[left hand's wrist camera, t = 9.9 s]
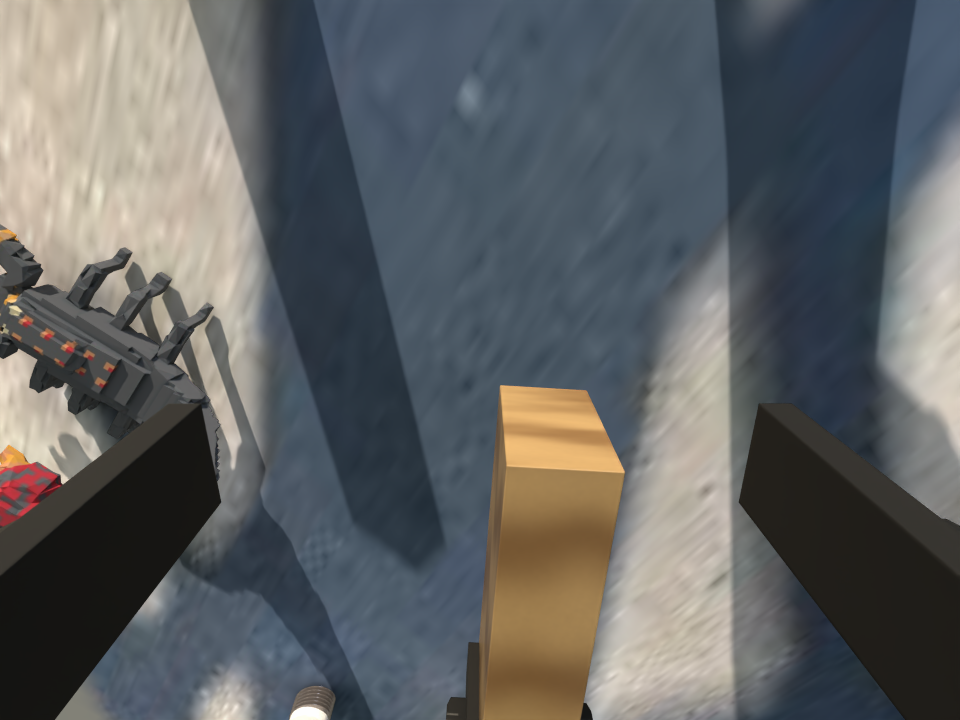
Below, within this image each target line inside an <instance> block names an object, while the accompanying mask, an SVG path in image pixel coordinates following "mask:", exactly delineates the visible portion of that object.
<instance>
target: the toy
mask: <svg viewBox="0 0 960 720" xmlns="http://www.w3.org/2000/svg"><path fill="white" fill-rule="evenodd" d="M16 236H17V235H16V234H14V233H13V232H11V231H10V230H8V229H7V228H5V227H3V226H2V225H0V265H1V266H2V267H3V268H4V269H5V270H6V272H7V273H5V274H2V275H0V357H1V358H2V359H4V358H6V357H8V356H10V355H12V354H14V353H15V352H17V351H18V348H19V349H20V350H22V351H24V352H26V353H27V354H29V355H31V356H32V357H34V358H36V359H37V362H36V365H35V367H34V370H33V373H32V376H31V379H30V386H29V388H32V389H34V390H36V391H37V392H38V393H40V392H42V391H44V390H46V389H48V388H50V387H52V386H53V387H55V388H60V387H63V385H64V383H67V384H69V385H70V386H72V387H73V389H72V395H71V397H70V399H69V401H68V411H70V412H71V413H73V414H75V415H76V414H78V413H79V412H81V411H83V410H84V409H86V408H88V409H89V410H92V409H94V408H95V407H97V405H98V404H99V402H103V403H105V404H107V405H109V406H110V407H112V408H114V409H115V410H117V411H119V412H118V414H117V415H116V417H115V419H114V421H113V422H112V424H111V426H110V428H109V430H108V432H107V433H108V434H110V435H111V436H113V437H115V438H116V439H118V438H120V437H121V436H122V435H123V434H124V433H125V432H129V433H131V432H132V431H133V430H135V429H136V428H137V427H139V425H140V424H142V423H144V422H145V421H146V420H148V419H149V418H150V417H152V416H153V415H154V414H156V413H157V412H158V411H159V410H161V409H162V408H163V407H165V406H166V405H167V404H201V406H202V411H203V416H204V420H205V425H206V430H207V435H208V440H209V445H210V450H211V455H212V460H213V465H214V469H215V474H216V479H217V481H218V479H219V478H220V477H219V473H218V472H219V471H220V470H218V469H217V467H218V466H219V464H220V463H218V462H217V461H218V459H219V458H220V457H219V456H218V455H217V454H218V453H219V451H220V450H219V449H217V447H218V444H217V441H218V437H217V435H216V431H217V429H218V428H219V426H220V425H221V424H219V423H218V421H219V420H217V419H216V418H214V417H212V416H213V415H214V414H212V413H211V411H212V410H211V409H210V408H209V404H208V403H209V401H210V399H209V398H208V397H207V396H206V394H205V393H204V392H203V391H201V390H200V389H199V388H198V387H197V386H196V385H195V384H194V383H193V382H191V381H190V380H189V378H188V375H187V374H186V373H185V372H184V371H183V370H182V369H181V368H179V367H178V366H177V365H176V364H174V362H175V360H176V358H177V356H178V355H179V353H180V351H181V349H182V347H183V346H184V344H185V342H186V341H187V340H188V338H189V337H190V336H191V334H192V333H193V331H194V328H195V327H197V326H198V325H200V324H201V323H203V322H205V320H206V319H207V317H208V316H209V314H210V312H211V311H212V309H213V308H214V307H213V306H211V305H210V304H209V303H206V304H205V305H204V306H203V307H202V308H201V309H200V310H199V311H198V312H197V313H196V314H195V315H194V316H192V317H190V318H188V319H186V320H184V321H183V322H182V321H181V320H180V321H178V322H176V323H175V325H174V327H173V328H172V330H171V332H170V334H169V335H167V336H166V337H165V339H164V341H163V343H162V345H161V347H160V349H159V345H158V344H157V343H155V342H154V341H153V340H151V339H150V338H148V337H147V336H145V335H144V334H142V333H137V332H136V331H135V330H134V329H132V328H131V327H130V326H129V325H130V324H131V323H132V322H133V320H134V319H135V317H136V316H137V314H138V313H139V311H140V310H141V308H142V307H143V305H144V304H145V303H146V301H147V300H148V299H149V298H152V297H155V296H158V295H160V294H162V293H163V292H165V290H166V289H167V287H168V285H169V284H170V282H171V280H172V279H171V278H170V277H168V276H167V275H165V274H164V273H162V272H160V273H157V274H156V275H155V277H154V278H153V279H152V281H151V282H150V283H149V284H148V285H147V286H145V287H144V288H141V289H138V290H136V291H134V292H132V293H130V294H129V295H127V297H126V299H125V300H124V302H123V304H122V305H121V307H120V309H119V310H118V312H117V314H116V316H114V315H113V314H111V313H110V312H108V311H106V310H105V309H103V308H102V307H99V308H96V309H94V308H93V307H91V306H90V305H89V304H90V302H91V300H92V298H93V296H94V294H95V292H96V291H97V290H98V289H99V287H100V286H101V284H102V283H103V281H104V280H105V278H106V277H107V275H108V274H110V273H112V272H113V271H116V270H119V269H122V268H124V267H125V265H126V263H127V262H128V260H129V258H130V256H131V254H132V253H133V252H131V251H130V250H128V249H127V248H121V249H120V250H119V251H118V253H117V254H116V255H115V257H114V258H113V259H110V260H107V261H103V262H99V263H96V264H87V265H86V267H85V268H84V270H83V271H82V273H81V274H80V276H79V277H78V279H77V281H76V282H75V284H74V286H73V287H72V289H71V291H70V292H69V293H67V292H66V291H64V292H63V291H61V290H60V289H58V288H57V287H55V286H53V285H48V284H47V285H43V286H40V287H36V288H32V287H31V286H35V285H36V283H37V281H38V279H39V277H40V276H41V274H42V272H43V269H42V268H41V264H39V263H37V262H36V261H35V260H34V259H33V258H34V255H33V254H32V253H31V252H29V251H28V250H27V249H25V248H24V245H22V244H21V243H20V242H19V240H18V239H16ZM0 462H1V464H2V465H0V528H2V527H3V526H5V525H7V524H9V523H11V522H13V521H16V520H18V519H19V518H20V517H22V516H23V515H24V514H25V513H27V512H28V511H29V510H31V509H32V508H33V507H35V506H36V505H37V504H38V503H40V502H41V501H42V500H44V499H45V498H46V497H48V496H49V495H50V494H51V493H53V492H54V491H55V490H57V489H58V488H59V487H61V486H62V485H63V484H62V483H61V476H60V474H57V473H54V472H53V471H51V470H49V469H48V468H46V467H45V466H43V465H42V464H40V463H38V462H35V463H32V464H30V463H28V461H27V460H26V458H25V457H24V455H23V454H22V453H20V452H19V451H17V450H16V449H14V448H13V447H11V446H10V445H8V446H7V447H6V449H5V450H4V451H3V452H2V453H1V454H0Z"/></svg>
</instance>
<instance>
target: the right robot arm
mask: <svg viewBox="0 0 960 720" xmlns="http://www.w3.org/2000/svg"><path fill="white" fill-rule="evenodd" d="M479 658H480V643H473V642H469V644H468V658H467V672H466V698H458V697H451V698H450V700H449V702H448V704H447V714H446V720H479ZM580 720H593V718H592V713H591V710H590V709H589V707H588V705H587V704H586V703H583V708H582V714H581V719H580Z"/></svg>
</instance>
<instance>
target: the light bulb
mask: <svg viewBox="0 0 960 720" xmlns="http://www.w3.org/2000/svg"><path fill="white" fill-rule="evenodd" d="M334 703H335V695H334V693H333V692H332V691H331V690H329V689H327V688H325V687H321V686H312V687H308V688H305V689H303V690H301V691H300V692H299V693H298V694H297V696H296V699H295V702H294V704H293V707H292V710H291V714H290V716H289V720H330V718H331V714H332V711H333V707H334Z"/></svg>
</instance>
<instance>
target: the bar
mask: <svg viewBox="0 0 960 720" xmlns="http://www.w3.org/2000/svg"><path fill="white" fill-rule="evenodd" d="M624 475H625V471H624V469H623V467H622V465H621V463H620V461H619V459H618V457H617V454H616V452H615V450H614V448H613V446H612V444H611V442H610V440H609V437H608V435H607V433H606V431H605V429H604V427H603V425H602V422H601V420H600V418H599V416H598V414H597V412H596V410H595V408H594V405H593V403H592V401H591V399H590V397H589V395H588V393H587V391H585V390H568V389H551V388H534V387H517V386H500V392H499V404H498V416H497V429H496V441H495V453H494V465H493V478H492V490H491V502H490V515H489V527H488V539H487V552H486V564H485V576H484V589H483V601H482V613H481V626H480V638H479V643H480V658H479V720H580V719H581V714H582V708H583V703H584V697H585V692H586V686H587V681H588V675H589V669H590V664H591V658H592V653H593V647H594V642H595V636H596V631H597V625H598V620H599V614H600V608H601V603H602V597H603V592H604V586H605V581H606V575H607V570H608V564H609V559H610V553H611V547H612V542H613V536H614V531H615V525H616V520H617V514H618V509H619V503H620V498H621V492H622V486H623V481H624Z"/></svg>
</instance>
